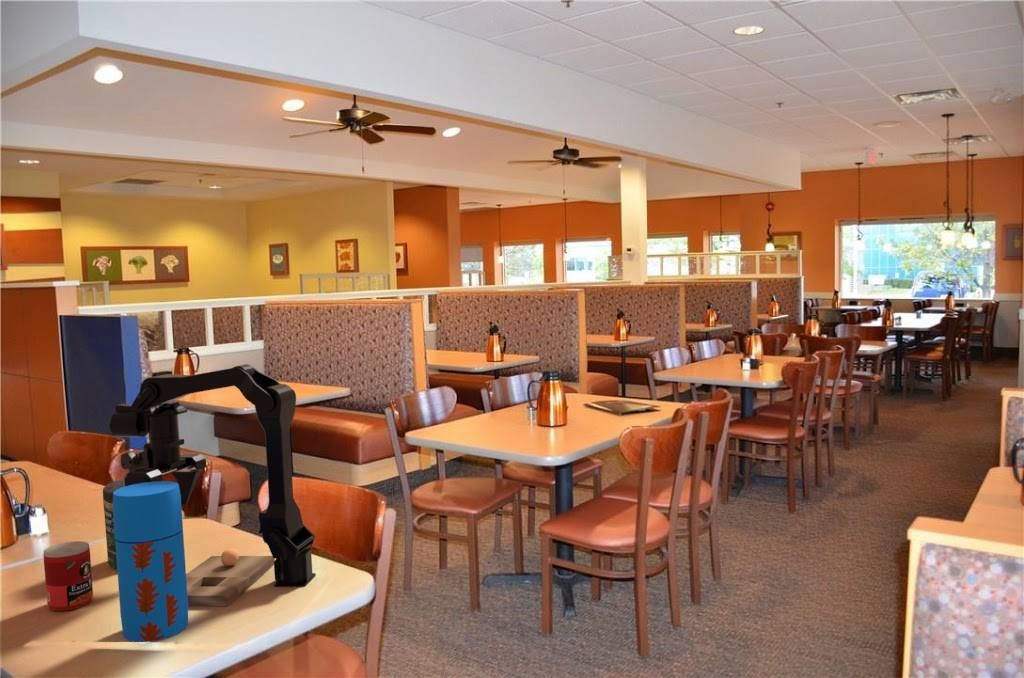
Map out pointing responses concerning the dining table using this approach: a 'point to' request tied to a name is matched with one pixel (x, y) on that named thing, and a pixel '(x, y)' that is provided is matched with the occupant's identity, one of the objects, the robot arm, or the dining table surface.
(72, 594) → the canned food
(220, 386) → the robot arm
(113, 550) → the coffee jar
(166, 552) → the thermos
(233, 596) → the board
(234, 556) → the ball
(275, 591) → the dining table surface
